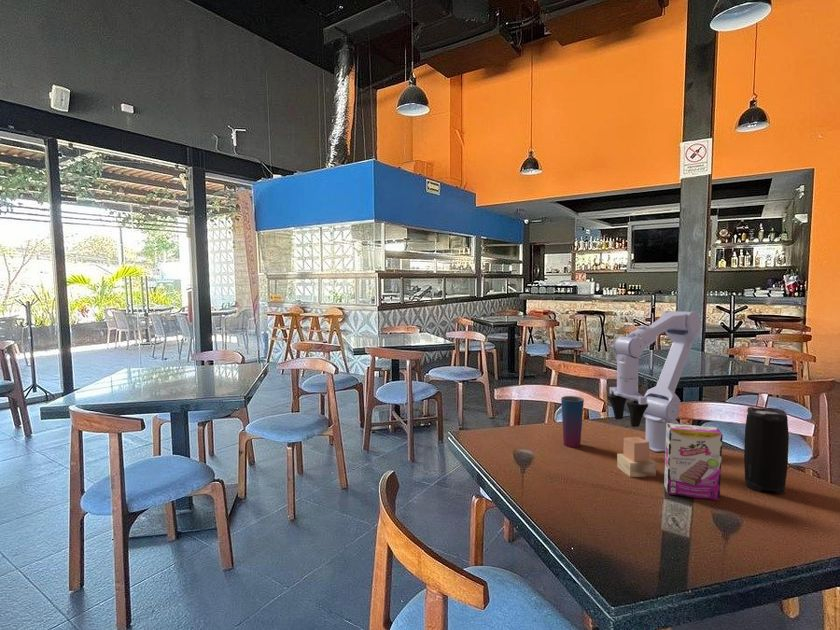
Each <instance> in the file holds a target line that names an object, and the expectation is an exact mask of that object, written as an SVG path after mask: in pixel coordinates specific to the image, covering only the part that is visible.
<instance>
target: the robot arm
mask: <svg viewBox="0 0 840 630" xmlns="http://www.w3.org/2000/svg"><path fill="white" fill-rule="evenodd" d="M701 327H702V321H701V317H700V315H699V313H698V312H697V311H693V310H692V311H680V310H679V311H677V310H673V311H671V310H665V311H664V312H661V314H660V315H659V318H657V320H655V321H654V322H653V323H651V324H650V325H649V326H648V325H642V324H641V325H639V326H638V328H637V329H636V330H634V331H632V332H629V333H628V334H627V335H626V336H619V337H618V338H616V339H615V340H614V341H613V345H612V351H613V353H614V356H615V361H616V386H610V387H609V394H610V395H607V399H608V401H609V403H610V405H611V407H612V412H613V415H614V419H615V420H616V421H617V420H623V418H624V415H625V414H624V412H625V406H627V407H628V411H629V415H630V416H629V418H630V425H631V427H632V428H637V427H640V424H641V421H642V419H643V418H645V439H644V440H646V441H648V442H649V450H651V451H653V452H655V453H659V452H665V447H666V423H671V424H680V423H679V421H678V420H677V417H679V415H680V414H679V413H680V404H681V400H680V399H681V398H679V396H678V395H677V394H676V389H677V386H678V384H679V381H680V380H681V379H680V378H681V376H682V373H683V370H684V367H685V366H686V362H687V360H688V357H689V356H690V355H689V354H690V352H691V349H692V346H693V344H694V342H695V341H696V340H697V337H698V334H699V332H700V329H701ZM664 332H665V335H666V337H667V338H668V339H670V340H671V341H672V343H671V347H670V349H669V351H668V354H667V357H666V360H665V362H664V365H663V367H662V370H661V372H660V376H659V377H658V380H657V382H656V385H655V386H654V387H651V388H649V389H647V390H646V392H645V394H644V395H642V393H640V392H639V360H640V359H639V357H642V354H644V350H645V349H646V348H647V347H649V346H650V345H652V344H653V343H655V342H656V340H657V336H659V335H661V334H663V333H664ZM627 400H630V401H631V402H627Z"/></svg>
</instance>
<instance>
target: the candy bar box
mask: <svg viewBox="0 0 840 630" xmlns="http://www.w3.org/2000/svg"><path fill="white" fill-rule="evenodd" d="M723 435H724V434H723V432H722V431H721V430H719V428H718V427H715V426H704V425H703V426H702V425H694V424H693V425H692V424H682V423H679V424H671V423H666V447H665V451H664V453H665V454H664V455H665V456H664V478H663V479H664V480H663V481H664V483H663V486H664V489H665V491H666V493H667V495H673V496H679V497H681V496H682V497H687V498H696V499H704V500H710V501H711V500H712V501H720V500H721V484H722V483H721V481H722V480H721V479H722V476H721V475H722V459H723V458H722V455H723V453H722V452H723Z"/></svg>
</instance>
